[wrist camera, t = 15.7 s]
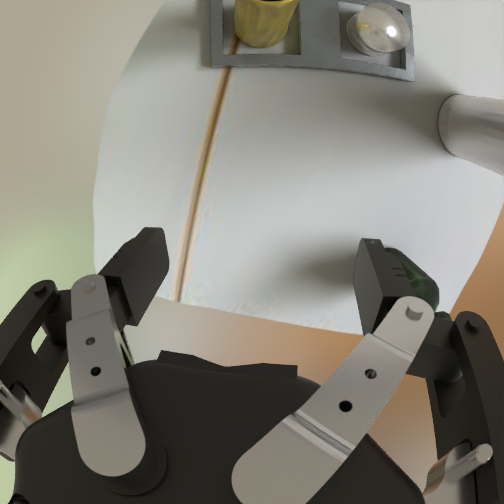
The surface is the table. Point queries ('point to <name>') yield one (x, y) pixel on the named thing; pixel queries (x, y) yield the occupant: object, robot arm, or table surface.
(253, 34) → the vase
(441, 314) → the potion bottle
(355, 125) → the table surface
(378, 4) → the grey rectangular frame
